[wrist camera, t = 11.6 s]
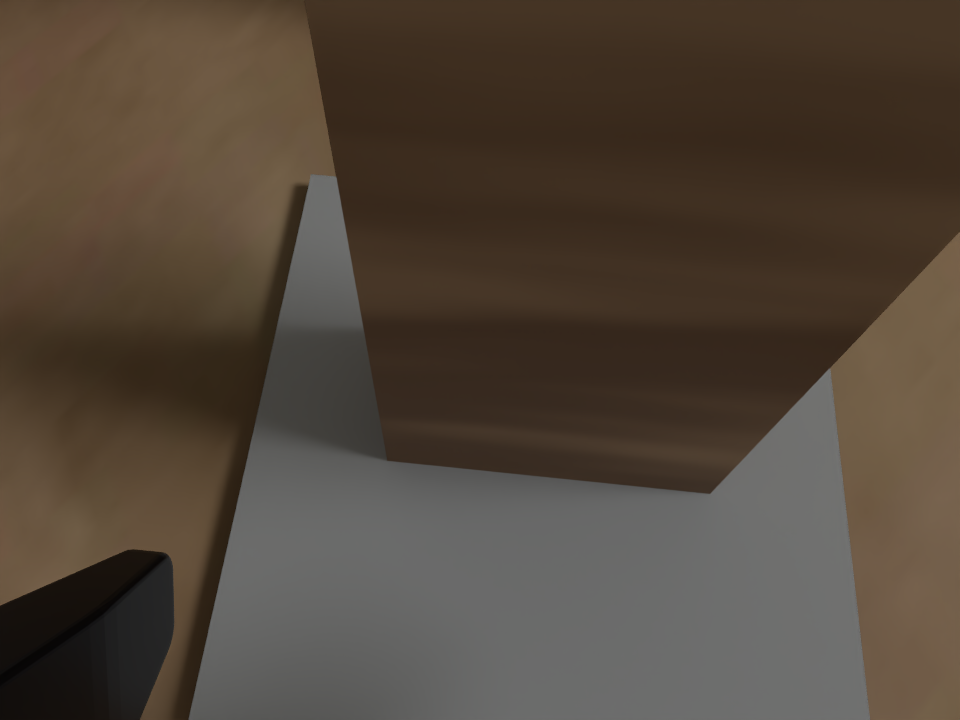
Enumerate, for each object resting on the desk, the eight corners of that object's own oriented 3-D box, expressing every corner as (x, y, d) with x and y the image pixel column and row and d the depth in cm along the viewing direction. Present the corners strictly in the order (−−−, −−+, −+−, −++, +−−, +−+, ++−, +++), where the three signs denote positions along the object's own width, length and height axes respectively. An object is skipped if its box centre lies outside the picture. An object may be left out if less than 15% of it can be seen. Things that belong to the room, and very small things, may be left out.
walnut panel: (710, 493, 17) (1327, -158, 5) (387, 460, 17) (257, -261, 5) (706, 360, 18) (1185, -397, 6) (407, 330, 18) (339, -477, 6)
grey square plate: (866, 787, 15) (877, 787, 14) (194, 722, 15) (187, 720, 14) (806, 231, 20) (813, 221, 20) (313, 185, 20) (310, 174, 20)
